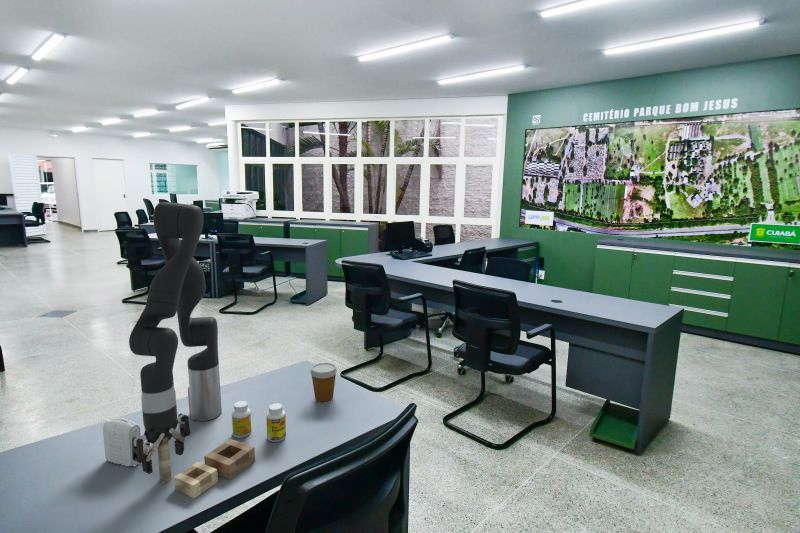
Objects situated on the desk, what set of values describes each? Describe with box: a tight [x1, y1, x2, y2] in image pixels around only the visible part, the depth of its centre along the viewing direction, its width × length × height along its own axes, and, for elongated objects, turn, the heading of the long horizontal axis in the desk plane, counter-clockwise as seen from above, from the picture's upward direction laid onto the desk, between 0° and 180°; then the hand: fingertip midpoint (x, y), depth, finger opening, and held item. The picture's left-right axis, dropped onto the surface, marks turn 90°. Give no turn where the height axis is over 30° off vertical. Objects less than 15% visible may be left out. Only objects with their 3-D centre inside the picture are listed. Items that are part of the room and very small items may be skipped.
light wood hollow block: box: [173, 461, 219, 499], centre depth 110 cm, size 7×7×4 cm
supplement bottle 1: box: [231, 400, 252, 439], centre depth 133 cm, size 5×5×10 cm
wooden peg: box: [156, 437, 172, 483], centre depth 111 cm, size 3×3×12 cm
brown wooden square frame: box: [203, 438, 256, 480], centre depth 118 cm, size 9×9×4 cm
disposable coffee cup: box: [309, 362, 338, 404], centre depth 156 cm, size 10×10×12 cm
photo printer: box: [102, 417, 142, 467], centre depth 119 cm, size 10×4×12 cm, turn 72°
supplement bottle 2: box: [265, 402, 287, 443], centre depth 131 cm, size 6×6×10 cm
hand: (164, 463), depth 112 cm, fingers open, 8 cm apart
